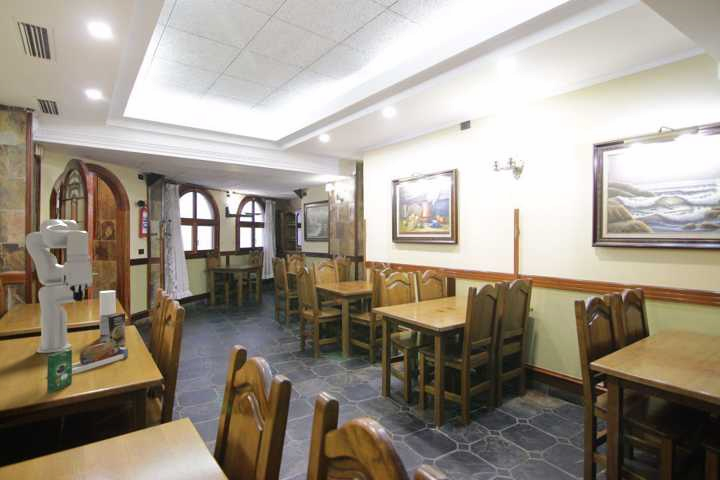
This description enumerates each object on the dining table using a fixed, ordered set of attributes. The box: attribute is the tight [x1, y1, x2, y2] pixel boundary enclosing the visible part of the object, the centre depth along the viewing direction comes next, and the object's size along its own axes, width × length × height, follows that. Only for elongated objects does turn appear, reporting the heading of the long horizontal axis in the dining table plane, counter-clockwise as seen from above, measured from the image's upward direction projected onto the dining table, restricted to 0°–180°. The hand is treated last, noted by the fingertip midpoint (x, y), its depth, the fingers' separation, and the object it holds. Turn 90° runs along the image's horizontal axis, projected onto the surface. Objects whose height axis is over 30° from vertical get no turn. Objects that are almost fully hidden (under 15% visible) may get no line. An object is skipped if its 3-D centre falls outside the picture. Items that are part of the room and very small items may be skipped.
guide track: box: [72, 346, 129, 375], centre depth 155 cm, size 7×28×4 cm, turn 157°
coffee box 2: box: [99, 312, 126, 347], centre depth 181 cm, size 9×6×16 cm
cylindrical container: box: [99, 290, 117, 318], centre depth 198 cm, size 7×7×25 cm
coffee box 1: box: [46, 348, 73, 393], centre depth 133 cm, size 8×3×13 cm, turn 178°
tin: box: [79, 342, 120, 365], centre depth 159 cm, size 15×3×8 cm, turn 151°
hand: (78, 300), depth 160 cm, fingers closed
